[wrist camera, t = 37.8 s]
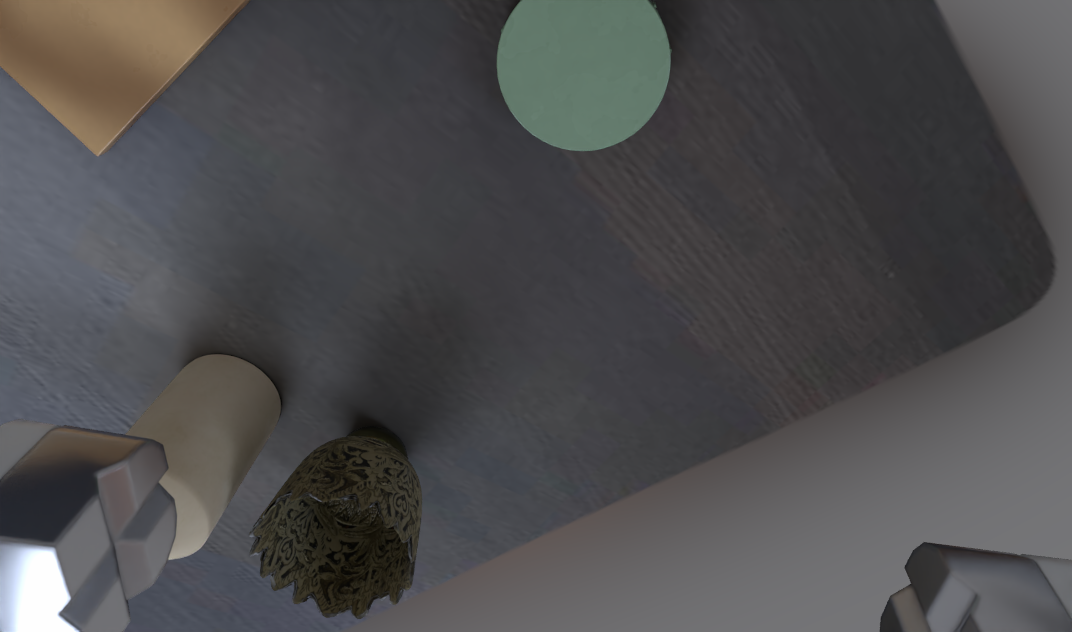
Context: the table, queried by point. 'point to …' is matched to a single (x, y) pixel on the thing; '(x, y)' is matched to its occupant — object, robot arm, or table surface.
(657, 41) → the lid
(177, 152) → the table surface
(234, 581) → the table surface
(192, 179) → the table surface
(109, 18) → the cork board
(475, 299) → the table surface
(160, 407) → the candle
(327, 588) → the cup
